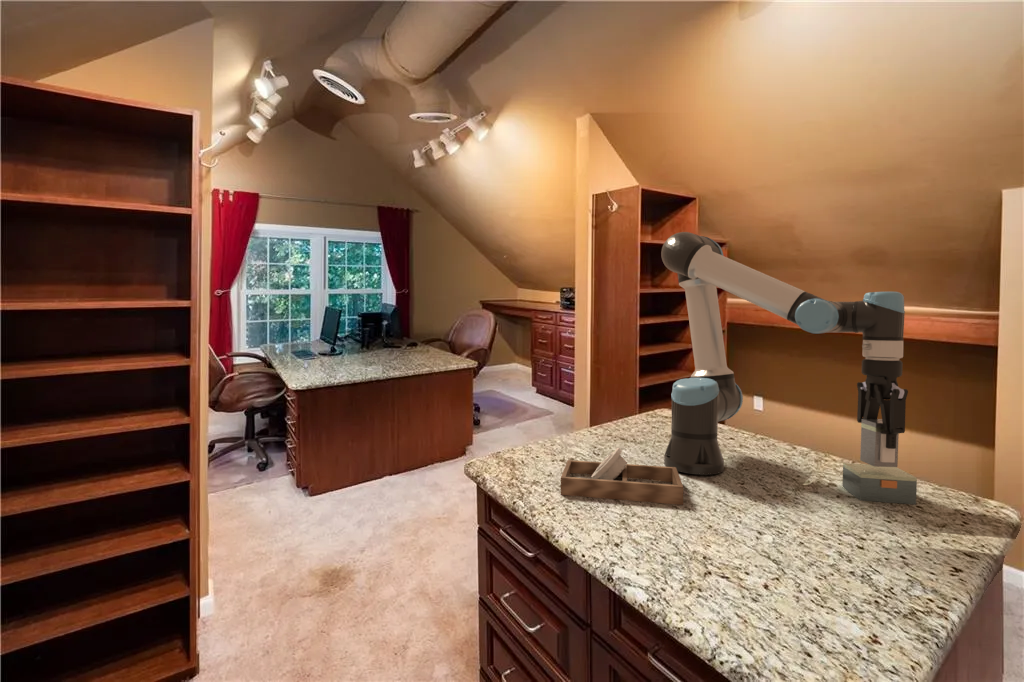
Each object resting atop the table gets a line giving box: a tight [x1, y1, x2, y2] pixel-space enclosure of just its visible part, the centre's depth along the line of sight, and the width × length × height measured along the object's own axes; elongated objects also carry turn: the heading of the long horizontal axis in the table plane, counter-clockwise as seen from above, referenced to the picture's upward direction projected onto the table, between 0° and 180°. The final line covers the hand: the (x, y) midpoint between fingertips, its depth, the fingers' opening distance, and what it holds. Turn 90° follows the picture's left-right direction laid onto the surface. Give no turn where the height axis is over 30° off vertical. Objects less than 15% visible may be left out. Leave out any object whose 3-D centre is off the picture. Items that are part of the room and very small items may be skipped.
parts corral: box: [560, 459, 684, 506], centre depth 117 cm, size 27×15×4 cm, turn 77°
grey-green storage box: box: [842, 462, 918, 505], centre depth 113 cm, size 11×9×6 cm
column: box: [859, 418, 900, 468], centre depth 113 cm, size 5×5×10 cm
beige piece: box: [590, 447, 628, 480], centre depth 119 cm, size 10×4×10 cm
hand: (878, 458), depth 113 cm, fingers closed on column, 5 cm apart
